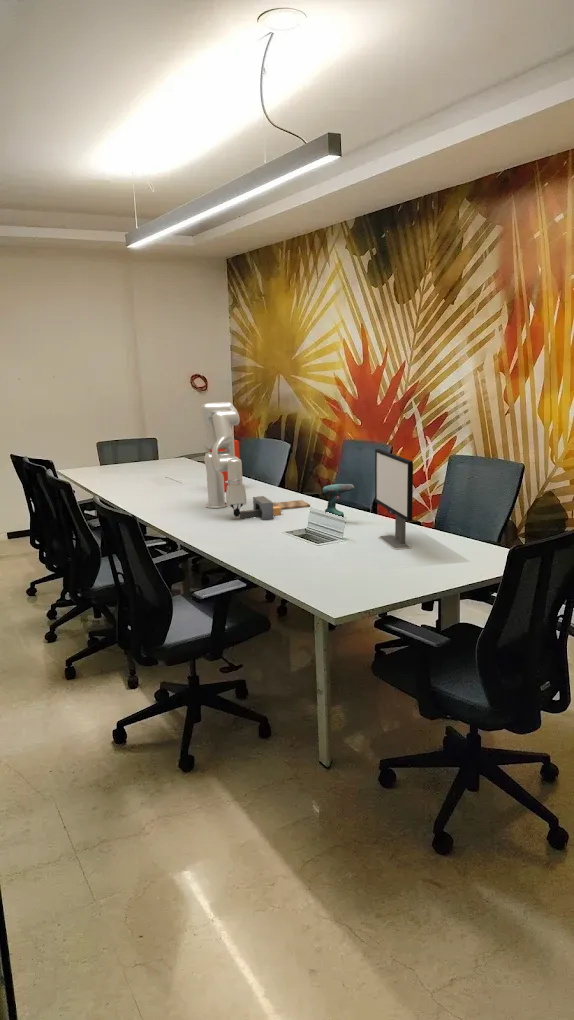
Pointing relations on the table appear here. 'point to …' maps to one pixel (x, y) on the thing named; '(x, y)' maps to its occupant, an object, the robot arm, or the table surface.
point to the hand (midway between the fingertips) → (236, 516)
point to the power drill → (335, 496)
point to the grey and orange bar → (258, 513)
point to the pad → (291, 504)
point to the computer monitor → (394, 493)
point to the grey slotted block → (263, 507)
